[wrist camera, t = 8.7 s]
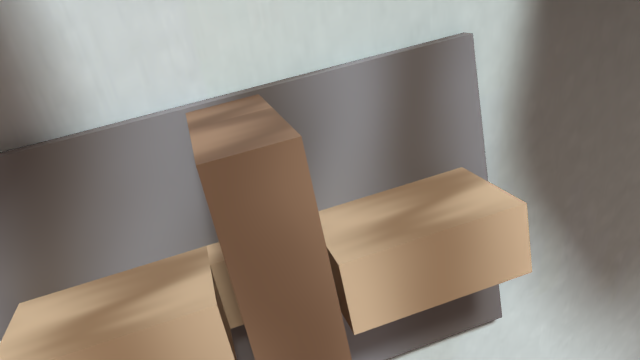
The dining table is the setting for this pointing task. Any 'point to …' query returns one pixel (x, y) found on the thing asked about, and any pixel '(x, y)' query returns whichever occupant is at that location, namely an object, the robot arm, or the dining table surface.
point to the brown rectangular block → (269, 230)
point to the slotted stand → (201, 238)
